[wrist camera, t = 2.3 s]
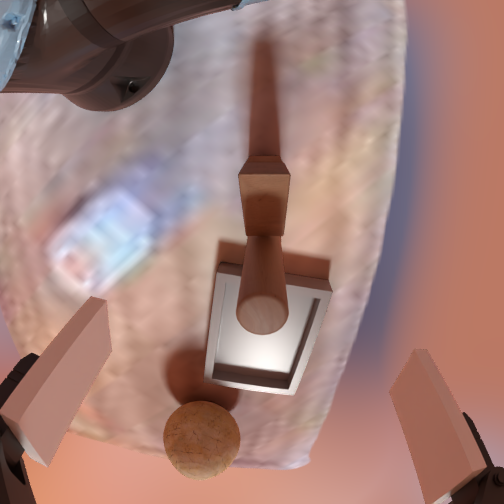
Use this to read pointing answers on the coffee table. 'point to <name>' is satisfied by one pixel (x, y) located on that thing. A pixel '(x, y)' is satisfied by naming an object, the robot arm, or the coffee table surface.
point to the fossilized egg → (201, 439)
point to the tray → (263, 336)
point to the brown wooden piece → (263, 245)
